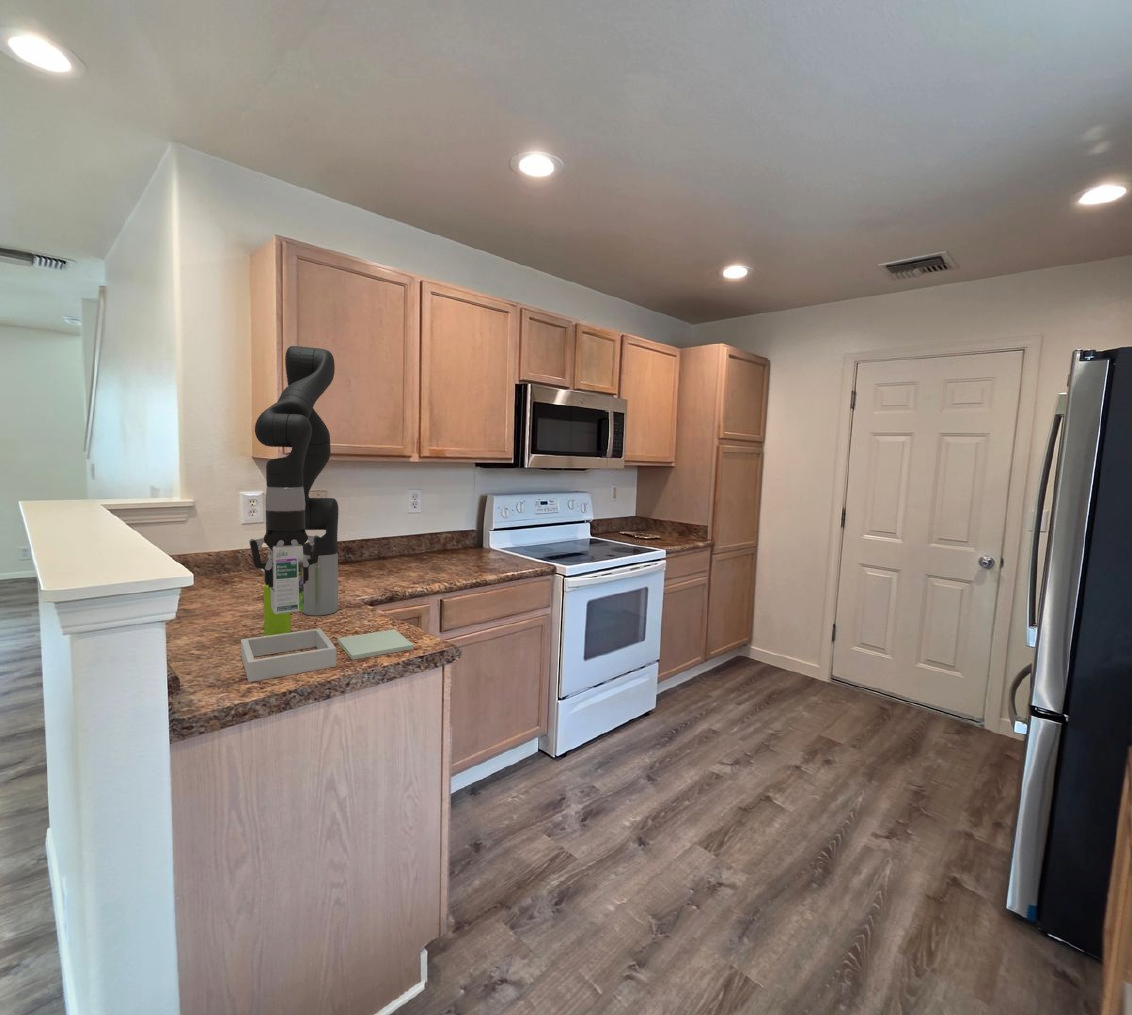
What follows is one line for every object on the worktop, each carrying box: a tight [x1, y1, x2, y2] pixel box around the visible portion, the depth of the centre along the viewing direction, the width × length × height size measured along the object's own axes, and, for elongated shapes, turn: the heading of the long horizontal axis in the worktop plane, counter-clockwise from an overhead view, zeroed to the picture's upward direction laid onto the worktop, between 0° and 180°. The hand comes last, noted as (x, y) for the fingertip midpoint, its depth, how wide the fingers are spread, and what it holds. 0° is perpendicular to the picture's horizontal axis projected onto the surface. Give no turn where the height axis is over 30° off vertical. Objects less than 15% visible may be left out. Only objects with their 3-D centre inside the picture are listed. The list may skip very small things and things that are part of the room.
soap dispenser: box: [262, 584, 292, 636], centre depth 135 cm, size 6×7×20 cm
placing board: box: [337, 628, 415, 661], centre depth 130 cm, size 14×14×1 cm
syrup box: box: [269, 544, 304, 615], centre depth 117 cm, size 6×6×14 cm
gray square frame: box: [240, 627, 337, 683], centre depth 118 cm, size 16×16×4 cm
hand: (286, 584), depth 117 cm, fingers closed on syrup box, 5 cm apart
